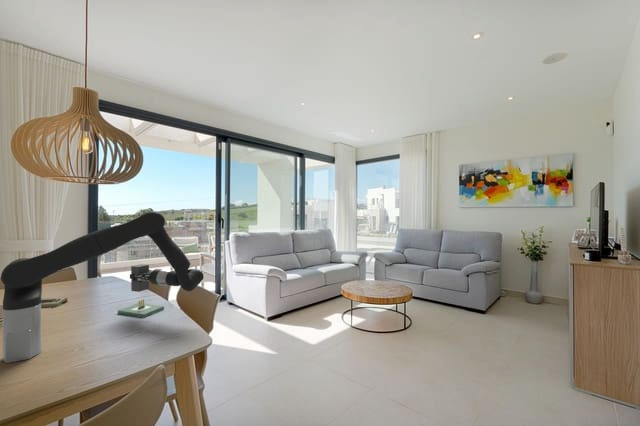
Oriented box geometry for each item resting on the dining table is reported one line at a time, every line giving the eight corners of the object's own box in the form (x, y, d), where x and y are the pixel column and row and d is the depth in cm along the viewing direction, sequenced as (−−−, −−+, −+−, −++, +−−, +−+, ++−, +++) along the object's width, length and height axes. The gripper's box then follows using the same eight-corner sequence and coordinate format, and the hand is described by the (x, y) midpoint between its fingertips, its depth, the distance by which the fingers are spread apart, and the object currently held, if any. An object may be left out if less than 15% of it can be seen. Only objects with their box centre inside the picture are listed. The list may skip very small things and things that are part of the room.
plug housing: (148, 288, 145) (148, 264, 145) (139, 291, 140) (138, 266, 140) (141, 288, 147) (141, 264, 146) (131, 291, 141) (131, 266, 141)
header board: (164, 309, 148) (164, 298, 148) (143, 317, 137) (143, 305, 136) (139, 305, 153) (139, 295, 152) (117, 313, 141) (117, 302, 141)
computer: (21, 309, 146) (21, 302, 146) (33, 304, 154) (33, 297, 154) (57, 307, 149) (57, 301, 149) (67, 302, 157) (67, 296, 157)
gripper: (175, 266, 146) (148, 264, 151) (150, 272, 132) (122, 270, 137) (175, 281, 146) (148, 279, 151) (150, 289, 132) (122, 286, 137)
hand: (136, 274), depth 144 cm, fingers closed on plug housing, 5 cm apart
